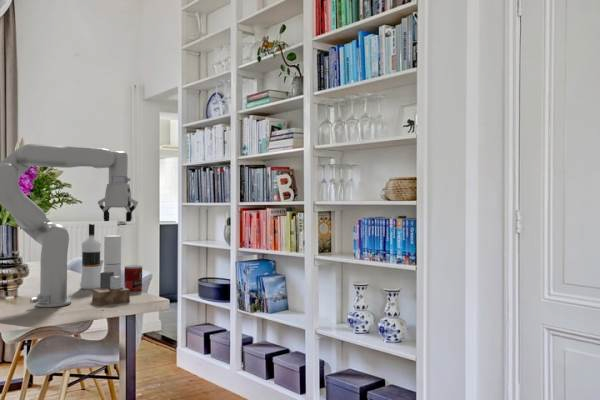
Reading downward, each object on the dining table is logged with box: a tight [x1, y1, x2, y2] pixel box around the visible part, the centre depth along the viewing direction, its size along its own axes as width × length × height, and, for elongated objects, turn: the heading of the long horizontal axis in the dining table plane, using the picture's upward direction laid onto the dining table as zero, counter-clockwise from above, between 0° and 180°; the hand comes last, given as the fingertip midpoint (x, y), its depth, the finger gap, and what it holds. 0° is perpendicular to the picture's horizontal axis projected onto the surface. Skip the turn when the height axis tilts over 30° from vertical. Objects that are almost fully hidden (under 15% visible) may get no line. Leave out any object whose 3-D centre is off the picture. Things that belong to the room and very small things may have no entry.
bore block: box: [91, 286, 131, 306], centre depth 215 cm, size 12×9×5 cm
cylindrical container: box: [103, 235, 122, 277], centre depth 238 cm, size 7×7×25 cm
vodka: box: [79, 223, 102, 290], centre depth 247 cm, size 9×9×30 cm
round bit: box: [110, 275, 122, 290], centre depth 216 cm, size 4×4×10 cm
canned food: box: [123, 264, 143, 292], centre depth 243 cm, size 8×8×11 cm
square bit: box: [99, 271, 114, 289], centre depth 228 cm, size 4×4×10 cm
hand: (117, 221), depth 224 cm, fingers open, 9 cm apart
